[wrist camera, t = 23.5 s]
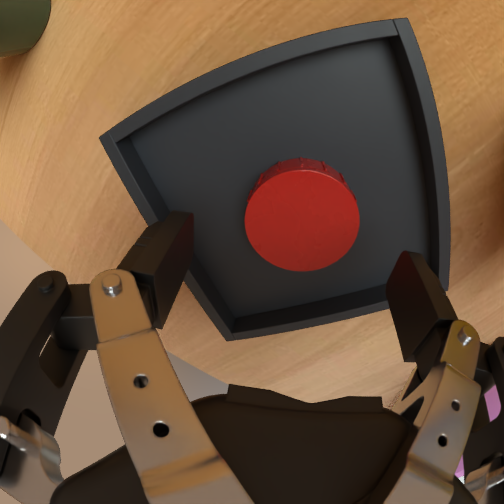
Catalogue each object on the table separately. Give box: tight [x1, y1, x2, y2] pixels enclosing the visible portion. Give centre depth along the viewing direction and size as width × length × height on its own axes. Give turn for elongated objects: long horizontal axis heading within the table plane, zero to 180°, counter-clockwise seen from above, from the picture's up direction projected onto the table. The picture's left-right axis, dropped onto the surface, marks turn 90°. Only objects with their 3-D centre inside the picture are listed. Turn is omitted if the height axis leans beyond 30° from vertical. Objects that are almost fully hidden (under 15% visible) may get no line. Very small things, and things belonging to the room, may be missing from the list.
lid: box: [245, 157, 360, 271], centre depth 14 cm, size 6×6×2 cm
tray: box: [99, 18, 451, 341], centre depth 14 cm, size 16×16×2 cm
